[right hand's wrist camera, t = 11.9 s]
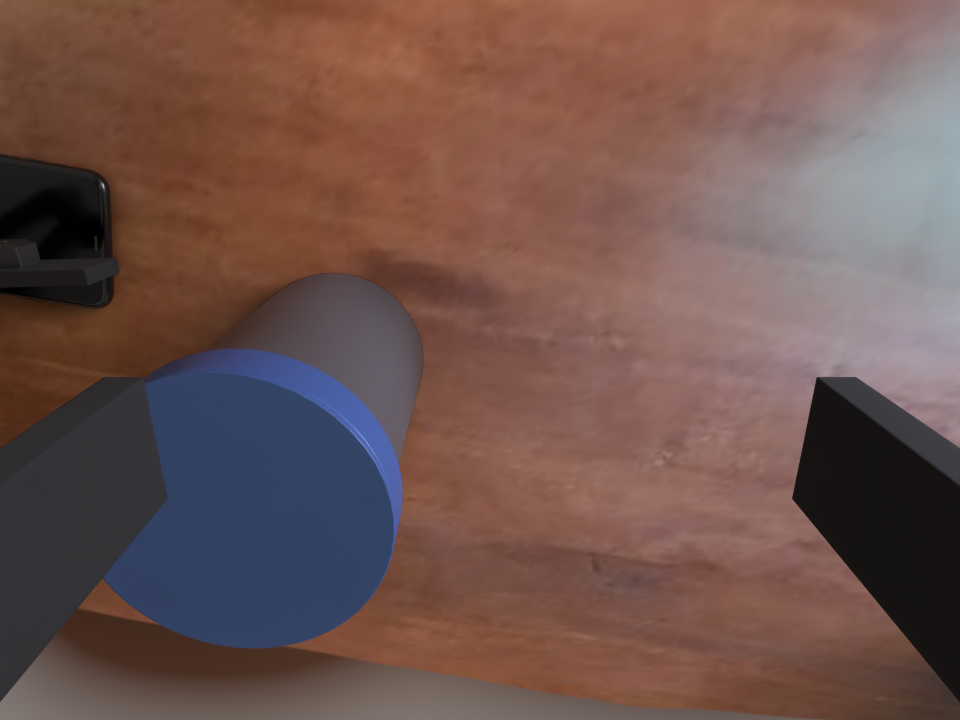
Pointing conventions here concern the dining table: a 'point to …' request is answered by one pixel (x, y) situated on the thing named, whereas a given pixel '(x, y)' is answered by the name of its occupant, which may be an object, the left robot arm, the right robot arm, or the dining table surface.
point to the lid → (261, 502)
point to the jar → (344, 342)
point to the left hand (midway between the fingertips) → (134, 400)
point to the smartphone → (57, 222)
